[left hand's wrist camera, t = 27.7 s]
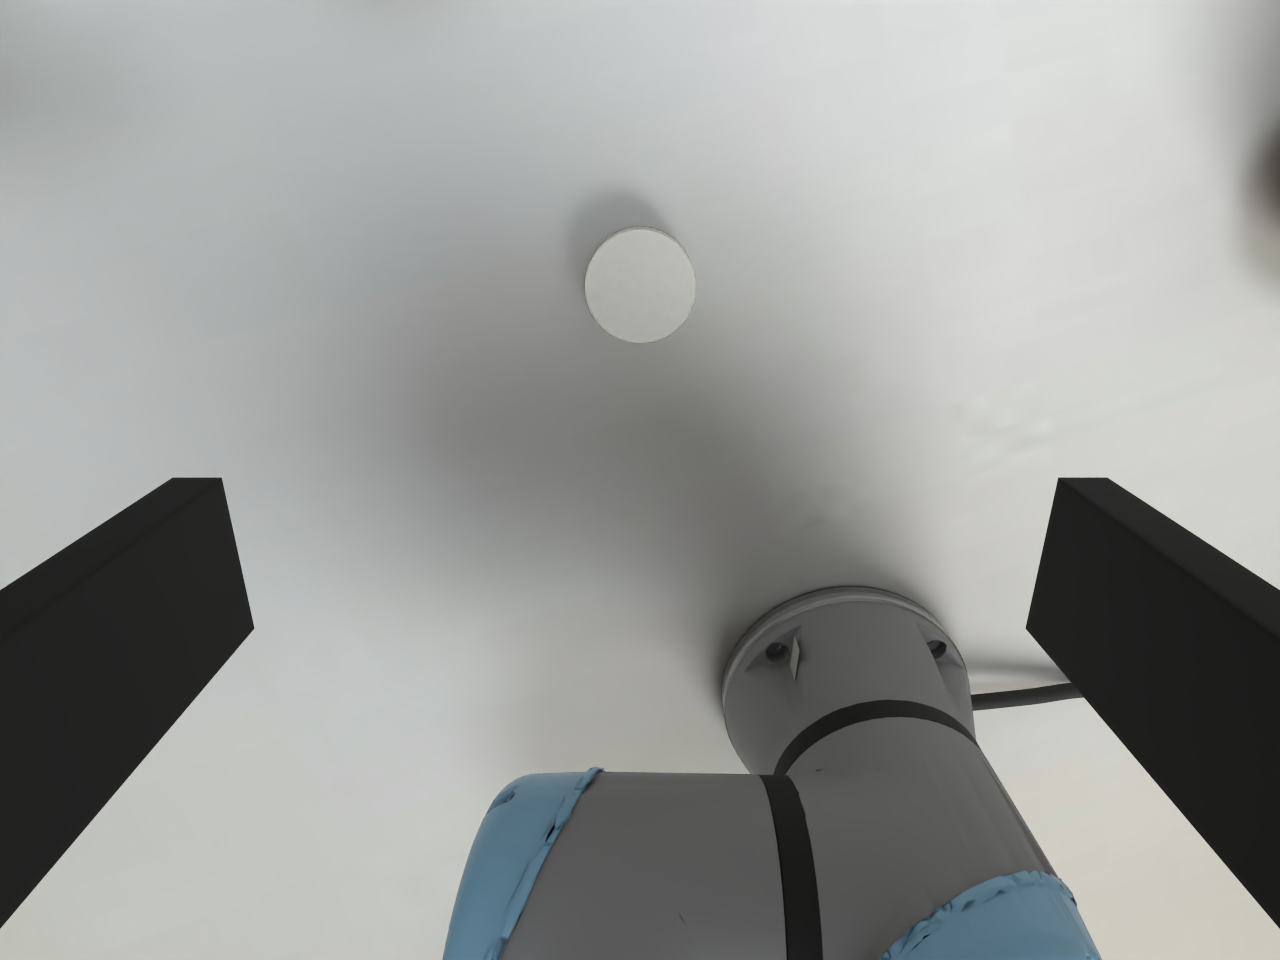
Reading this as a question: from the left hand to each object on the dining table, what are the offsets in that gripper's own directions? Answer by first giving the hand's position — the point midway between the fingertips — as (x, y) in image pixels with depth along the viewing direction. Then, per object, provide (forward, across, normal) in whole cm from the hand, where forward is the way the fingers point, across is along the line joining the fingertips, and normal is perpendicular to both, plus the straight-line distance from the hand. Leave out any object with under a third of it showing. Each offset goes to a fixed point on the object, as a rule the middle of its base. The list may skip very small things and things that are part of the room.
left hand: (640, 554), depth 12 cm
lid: (+29, 0, 0) cm, 29 cm away
